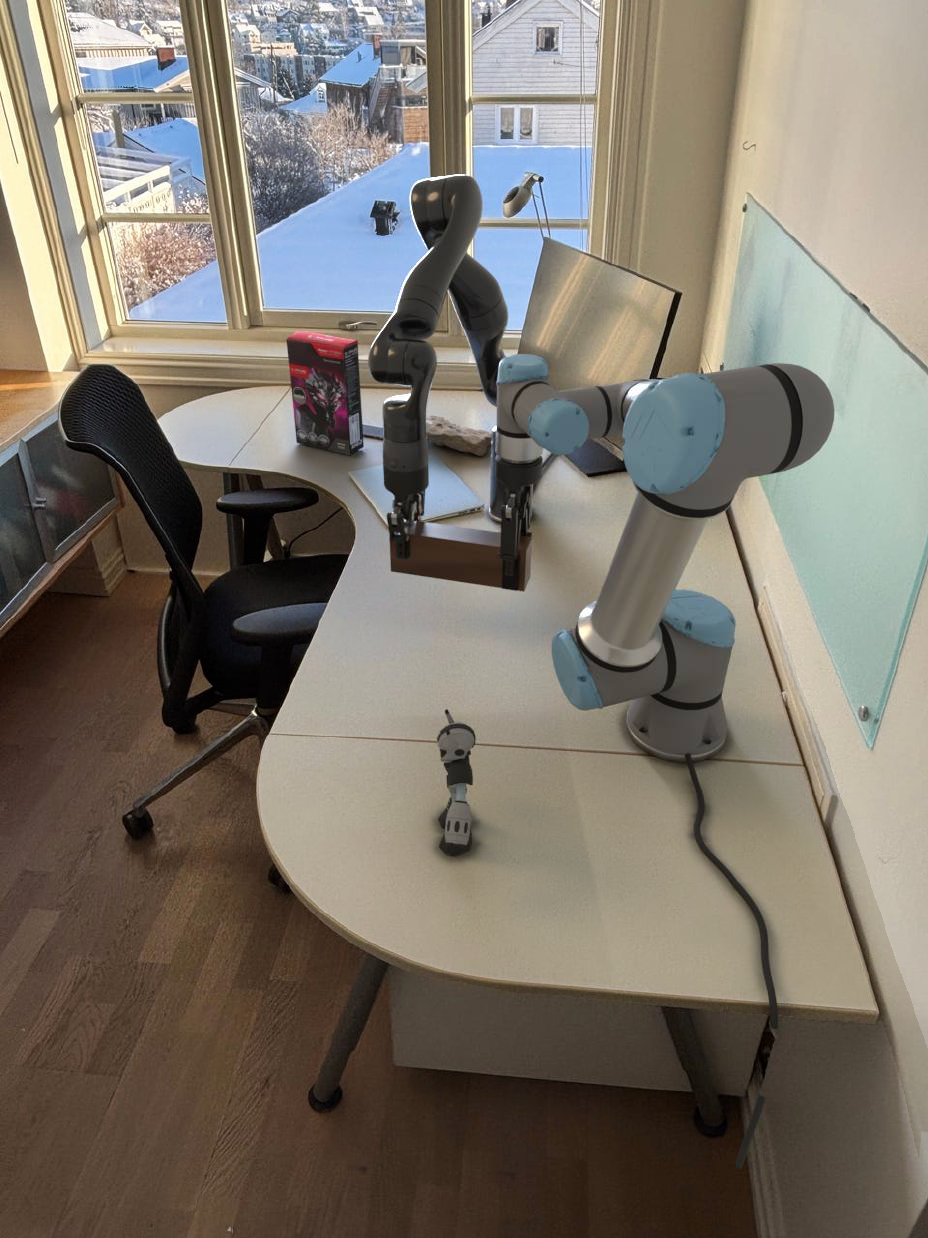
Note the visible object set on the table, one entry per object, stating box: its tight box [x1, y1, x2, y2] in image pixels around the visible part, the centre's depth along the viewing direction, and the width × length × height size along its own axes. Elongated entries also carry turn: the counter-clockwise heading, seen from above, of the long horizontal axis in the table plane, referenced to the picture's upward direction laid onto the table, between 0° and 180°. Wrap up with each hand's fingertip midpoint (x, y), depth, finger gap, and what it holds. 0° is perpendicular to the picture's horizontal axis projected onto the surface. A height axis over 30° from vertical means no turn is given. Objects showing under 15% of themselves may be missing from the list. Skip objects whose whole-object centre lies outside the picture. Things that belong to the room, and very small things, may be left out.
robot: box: [436, 708, 477, 857], centre depth 119 cm, size 20×5×20 cm, turn 3°
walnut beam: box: [388, 519, 533, 592], centre depth 159 cm, size 5×24×8 cm, turn 75°
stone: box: [426, 415, 492, 457], centre depth 232 cm, size 21×15×6 cm
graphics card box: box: [285, 330, 365, 456], centre depth 225 cm, size 17×7×27 cm, turn 62°
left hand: (408, 549), depth 161 cm, fingers closed on walnut beam, 5 cm apart
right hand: (513, 579), depth 159 cm, fingers closed on walnut beam, 5 cm apart
